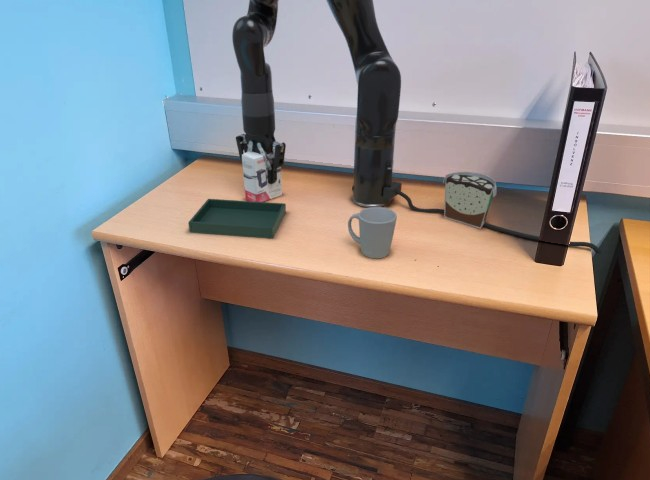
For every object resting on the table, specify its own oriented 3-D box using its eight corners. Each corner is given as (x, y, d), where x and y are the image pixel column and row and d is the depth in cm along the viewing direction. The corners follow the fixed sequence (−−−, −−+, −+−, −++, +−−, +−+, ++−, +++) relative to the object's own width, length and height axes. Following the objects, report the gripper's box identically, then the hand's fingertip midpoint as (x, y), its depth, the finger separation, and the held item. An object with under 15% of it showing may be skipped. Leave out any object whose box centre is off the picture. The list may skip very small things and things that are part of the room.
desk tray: (286, 213, 129) (285, 203, 128) (272, 238, 119) (272, 228, 117) (209, 208, 133) (208, 198, 131) (189, 232, 122) (188, 222, 120)
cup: (386, 264, 108) (389, 225, 104) (340, 254, 112) (341, 216, 108) (399, 248, 114) (402, 210, 109) (355, 238, 118) (356, 202, 113)
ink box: (257, 205, 134) (253, 158, 127) (244, 199, 137) (240, 153, 130) (283, 195, 138) (281, 149, 132) (270, 189, 141) (267, 145, 135)
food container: (500, 221, 123) (508, 179, 118) (487, 231, 120) (495, 188, 114) (452, 207, 130) (457, 166, 125) (438, 215, 127) (443, 174, 121)
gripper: (292, 111, 125) (294, 182, 134) (245, 103, 132) (250, 170, 141) (272, 119, 120) (275, 191, 129) (224, 110, 127) (231, 179, 136)
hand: (262, 180), depth 135 cm, fingers closed on ink box, 5 cm apart
